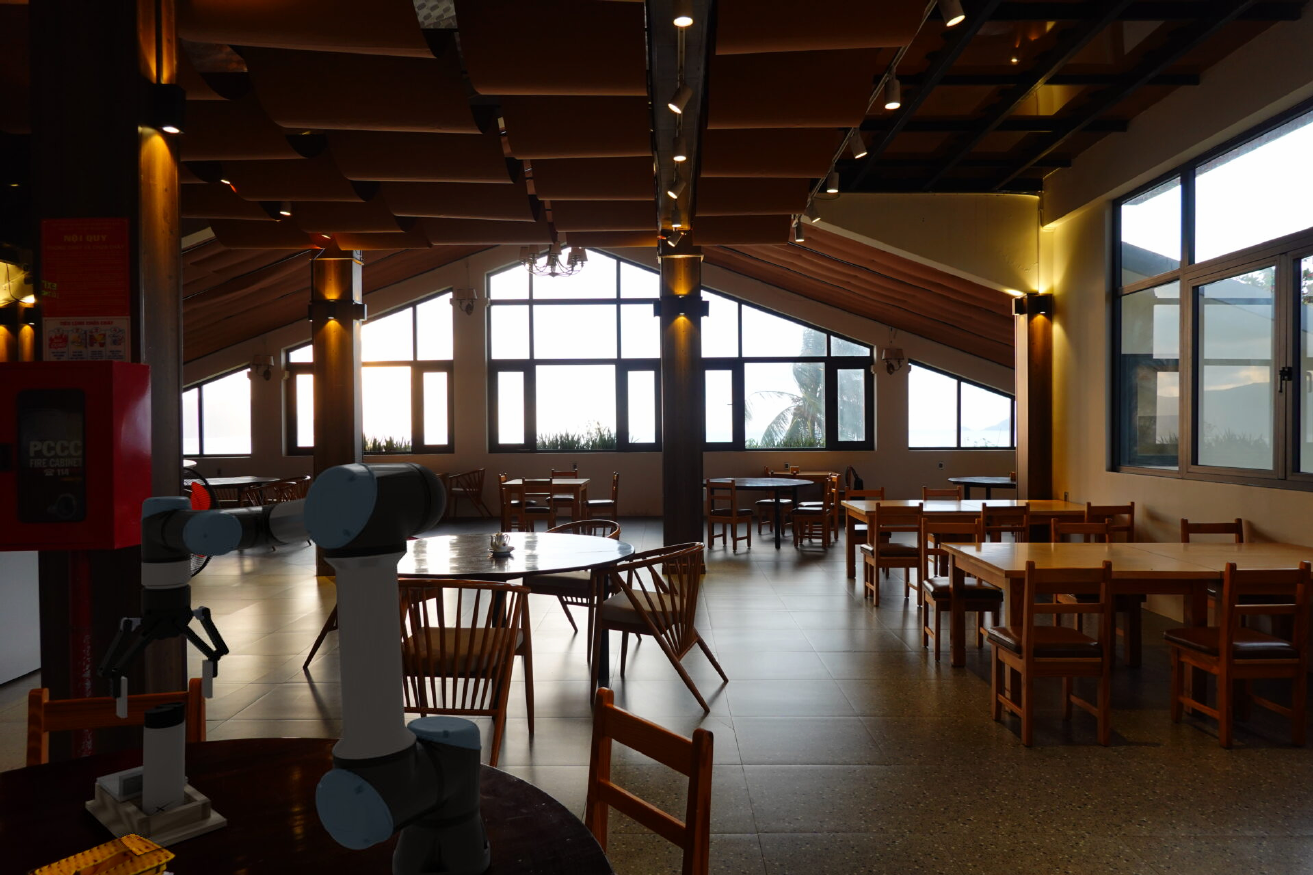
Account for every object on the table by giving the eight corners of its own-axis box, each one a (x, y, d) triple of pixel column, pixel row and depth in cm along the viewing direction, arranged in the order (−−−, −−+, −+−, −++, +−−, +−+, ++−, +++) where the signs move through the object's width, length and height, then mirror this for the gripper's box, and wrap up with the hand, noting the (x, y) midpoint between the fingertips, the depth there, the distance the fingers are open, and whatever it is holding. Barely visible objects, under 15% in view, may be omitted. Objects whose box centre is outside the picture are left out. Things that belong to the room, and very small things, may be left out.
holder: (226, 825, 143) (227, 802, 143) (136, 856, 133) (136, 831, 133) (169, 783, 160) (170, 762, 160) (85, 807, 149) (85, 785, 149)
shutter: (187, 781, 151) (188, 761, 151) (119, 801, 142) (119, 780, 142) (163, 764, 158) (163, 744, 158) (96, 782, 150) (97, 761, 150)
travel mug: (166, 827, 140) (168, 711, 140) (133, 823, 142) (135, 707, 141) (193, 811, 146) (195, 699, 146) (161, 807, 148) (163, 696, 148)
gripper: (231, 573, 156) (230, 685, 156) (75, 592, 137) (75, 719, 137) (248, 578, 151) (248, 693, 151) (90, 597, 132) (89, 729, 132)
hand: (166, 706), depth 144 cm, fingers open, 13 cm apart
